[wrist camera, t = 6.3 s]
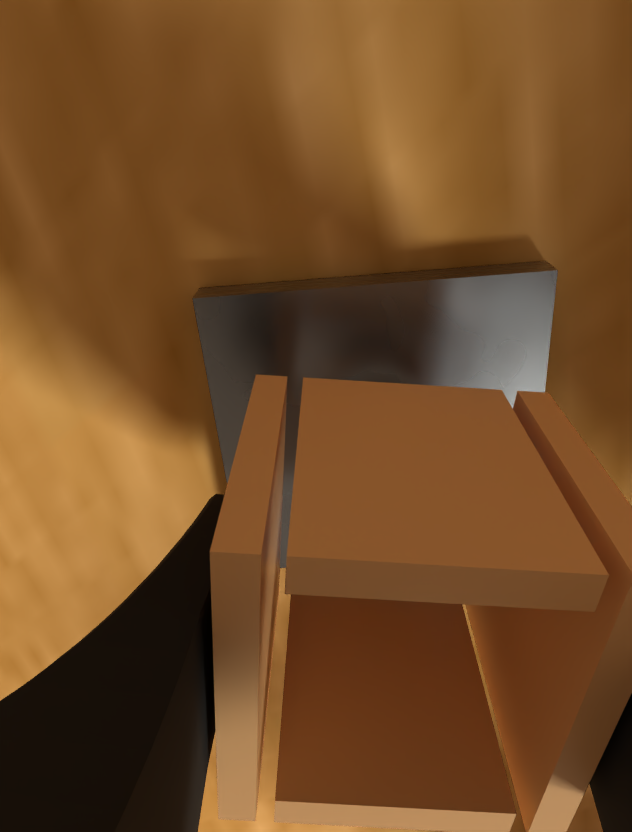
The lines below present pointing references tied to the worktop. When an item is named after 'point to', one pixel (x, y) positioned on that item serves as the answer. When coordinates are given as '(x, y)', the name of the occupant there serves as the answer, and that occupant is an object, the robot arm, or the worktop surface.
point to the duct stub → (373, 339)
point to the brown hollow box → (420, 608)
